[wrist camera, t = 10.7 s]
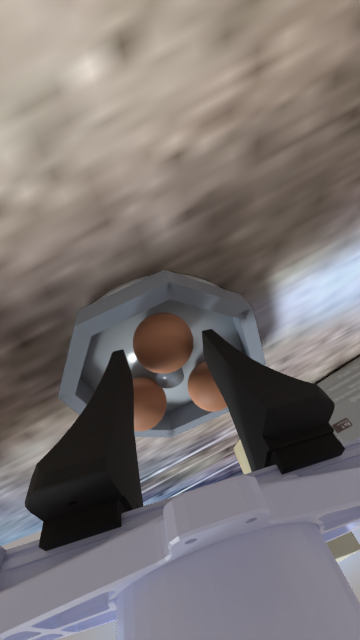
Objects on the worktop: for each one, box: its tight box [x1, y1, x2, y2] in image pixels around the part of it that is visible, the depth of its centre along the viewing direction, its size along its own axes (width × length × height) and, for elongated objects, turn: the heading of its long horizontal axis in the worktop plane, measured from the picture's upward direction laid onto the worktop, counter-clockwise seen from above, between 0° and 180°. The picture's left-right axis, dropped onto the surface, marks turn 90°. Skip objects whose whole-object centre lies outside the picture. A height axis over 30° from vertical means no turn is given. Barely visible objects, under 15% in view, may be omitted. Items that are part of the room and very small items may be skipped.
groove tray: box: [58, 270, 266, 437], centre depth 18 cm, size 14×14×3 cm
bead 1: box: [133, 312, 194, 373], centre depth 15 cm, size 4×4×4 cm
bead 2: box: [133, 377, 167, 431], centre depth 17 cm, size 4×4×4 cm
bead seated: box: [188, 361, 227, 412], centre depth 18 cm, size 4×4×4 cm
